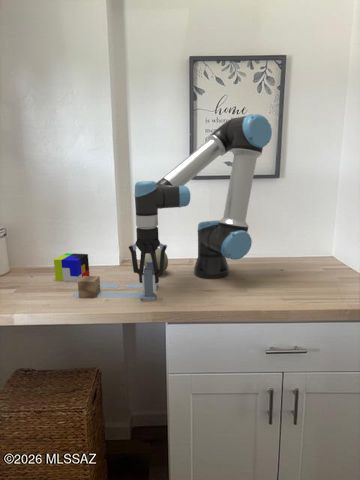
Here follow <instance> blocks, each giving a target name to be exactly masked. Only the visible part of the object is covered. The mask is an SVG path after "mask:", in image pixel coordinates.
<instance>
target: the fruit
mask: <svg viewBox="0 0 360 480" xmlns="http://www.w3.org/2000/svg"><path fill="white" fill-rule="evenodd" d="M155 252H156V259H157V264H158V269H160V256H161V250H160V247H158V248H157V249H156V251H155ZM148 260H152V258H151V254H149V253H146V254H145V262H144V268H145V267H147V263H146V262H147V261H148ZM168 265H169V258H168V255H167V253H166V252H165V259H164V271H163V273H165V271H166V270H167V269H168ZM163 273H160V274H159V275H161V274H163Z"/></svg>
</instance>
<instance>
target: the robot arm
mask: <svg viewBox="0 0 360 480" xmlns="http://www.w3.org/2000/svg"><path fill="white" fill-rule="evenodd" d="M272 130H273V129H272V126H271V123H270V122H269V120H268V119H267V118H266V117H265V116H264V115H262V114H260V113H259V114H257V113H256V114H253V113H251V114H247V115H244V116H237V117H233V118H231V119H229V120H227V121H225V122H224V123H222V124H221V125H220V126H219V127H218V128H216V130H214V131H213V132H212V133H211V134H209V136H207V141H204V143H203V144H201V145H200V146H199V147H198V148H197V149H195V150H194V151H193V152H192V153H191V154H190V155H188V156H187V157H186V158H185V159H183V160H182V161H181V162H180V163H179V164H177V165H176V166H175V167H174V168H173V169H171V170H170V171H169V172H168V173H167V174H166V175H164V176H163V177H162V178H161V179H160V180H158V181H157V182H156V181H154V180H147V181H146V180H142V181H137V182H135V184H134V206H135V207H134V208H135V226H136V229H135V230H136V232H135V233H136V241H135V243H133V244H130V245H129V246H128V249H129V251H130V254H131V262H132V268H133V269H132V270H133V273H134V274H138V281H139V284H142V288H141V289H142V293H145V288H144V269H145V265H144V262H145V254H146V253H149V254H151V258H152V263H153V268H154V273H153V293H157V290H156V284H159V281H160V275H161V274H160V273H162V274H163V273H164V272H165V271H164V259H165V253H166V251H167V247H168V245H167V244H163V243H161V242H160V239H159V227H158V226H159V218H158V217H159V216H158V215H159V210H160V209H171V208H178V209H180V208H183V207H187V206H189V204H190V202H191V191H190V189H189V187H188V186H186V185H187V183H189V182H190V181H191V180H192V179H193V178H195V177H196V176H197V175H198V174H200V173H201V171H203V170H204V169H205V168H207V166H209V165H210V164H211V163H213V161H214V160H216V159H217V158H218V157H220V156H221V157H223V156H224V155H225V154H227V153H228V152H230V151H231V153H232V155H233V158H232V159H233V160H232V164H231V165H232V167H231V171H230V177H229V178H230V179H229V183H228V189H227V194H226V200H225V204H224V212H223V217H222V218H221V219H219V220H206V221H205V220H204V221H201V222H199V223H198V225H197V258H196V261H195V265H194V268H193V274H194V275H195V276H197V277H198V278H202V279H208V280H209V279H211V280H213V279H222V278H225V277H228V276H229V275H230V268H229V264H228V260H227V259H230V260H234V261H236V260H241V259H242V258H244V257H245V256H246V255H247V254H248V253H249V252H250V250H251V248H252V243H253V240H252V237H251V235H250V233H248V231H249V225H248V223H247V221H246V220H247V214H248V209H249V203H250V197H251V192H252V187H253V180H254V175H255V170H256V165H257V160H258V158H259V157H261V156H262V155H263V151H264V150H263V149H264V147H266V146H267V145H268V144H269V143H270V141H271V139H272V136H273V133H272V132H273V131H272ZM137 248H138V250H139V251H140V257H139V258H140V259H139V265H138V257H137ZM157 248H160V250H161V256H160V269H158V264H157V259H156V252H155V251H156V249H157ZM163 271H164V272H163Z"/></svg>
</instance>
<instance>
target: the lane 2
mask: <svg viewBox="0 0 360 480" xmlns="http://www.w3.org/2000/svg"><path fill="white" fill-rule="evenodd" d="M146 263H147V267H153V263H152V260H148V261H147V262H146ZM158 288H159V283H156V291H158ZM124 289H143V288H142V283H126V285H125V287H124Z"/></svg>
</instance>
